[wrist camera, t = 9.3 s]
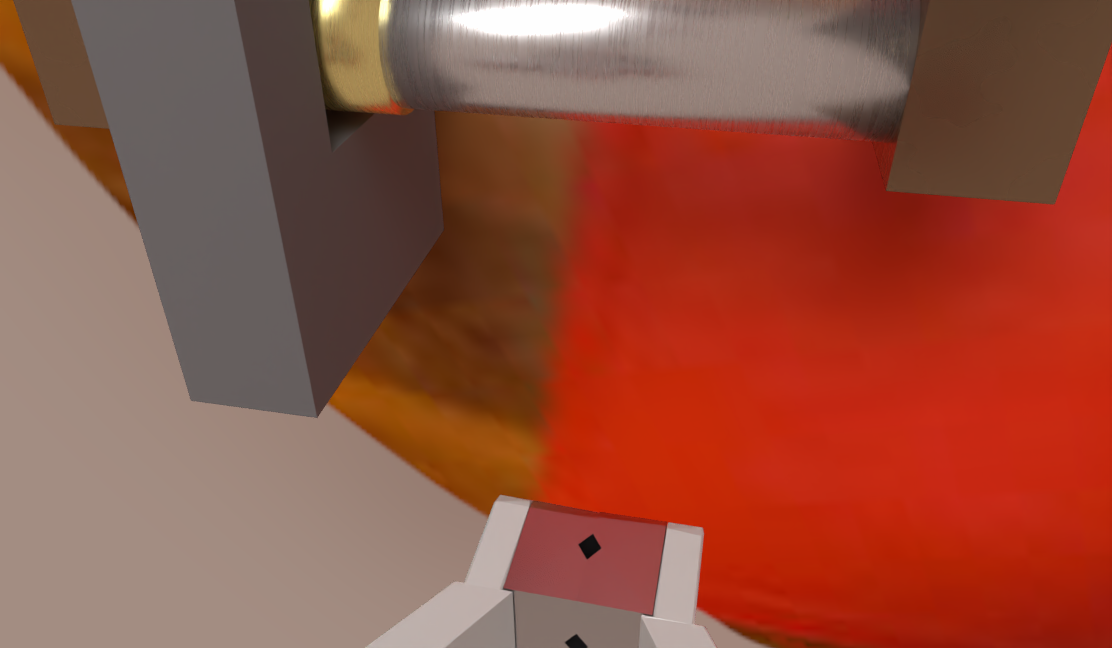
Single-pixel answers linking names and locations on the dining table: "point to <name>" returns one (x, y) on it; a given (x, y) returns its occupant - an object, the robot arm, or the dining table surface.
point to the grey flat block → (259, 193)
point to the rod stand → (710, 73)
